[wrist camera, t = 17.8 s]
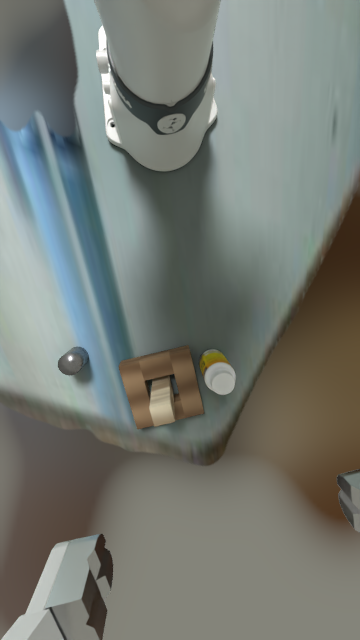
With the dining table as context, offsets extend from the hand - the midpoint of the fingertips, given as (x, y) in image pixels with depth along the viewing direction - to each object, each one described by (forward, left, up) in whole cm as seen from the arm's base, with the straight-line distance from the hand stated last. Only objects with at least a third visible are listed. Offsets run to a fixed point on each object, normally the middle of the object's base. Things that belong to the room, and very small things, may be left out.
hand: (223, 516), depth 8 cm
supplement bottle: (+12, +5, -39) cm, 41 cm away
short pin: (+4, -21, -39) cm, 45 cm away
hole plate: (+14, -6, -39) cm, 42 cm away
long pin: (+14, -6, -39) cm, 42 cm away
